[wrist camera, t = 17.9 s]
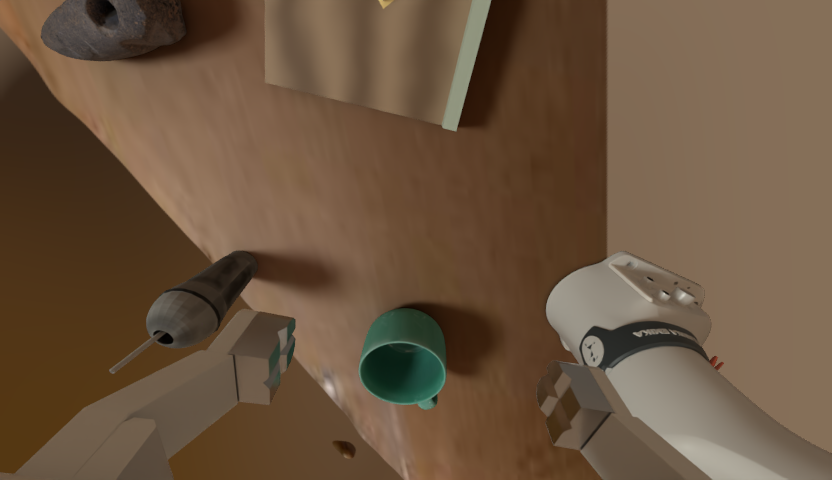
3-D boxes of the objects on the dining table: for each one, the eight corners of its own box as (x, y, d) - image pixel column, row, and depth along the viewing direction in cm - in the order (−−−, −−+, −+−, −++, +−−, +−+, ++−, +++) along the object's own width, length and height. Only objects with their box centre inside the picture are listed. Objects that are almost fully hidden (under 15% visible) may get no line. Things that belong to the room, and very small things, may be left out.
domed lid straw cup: (267, 286, 48) (171, 404, 30) (221, 279, 47) (96, 393, 30) (265, 246, 45) (156, 351, 27) (215, 238, 44) (71, 339, 26)
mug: (357, 308, 49) (342, 353, 41) (430, 288, 47) (431, 332, 38) (394, 375, 56) (387, 427, 47) (459, 361, 54) (465, 412, 45)
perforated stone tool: (100, 75, 35) (30, 72, 29) (68, 22, 33) (-15, 6, 27) (214, 40, 33) (164, 29, 27) (188, -19, 31) (128, -46, 25)
